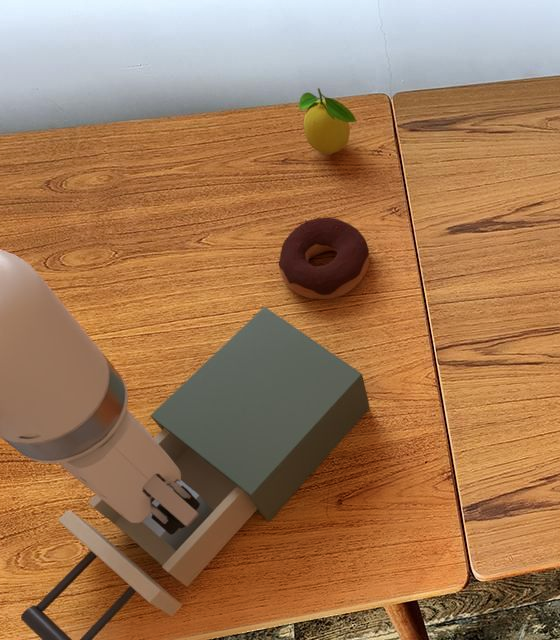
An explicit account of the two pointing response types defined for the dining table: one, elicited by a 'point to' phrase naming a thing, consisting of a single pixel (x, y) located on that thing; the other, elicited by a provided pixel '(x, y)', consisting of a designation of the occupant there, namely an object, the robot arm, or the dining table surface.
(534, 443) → the dining table surface
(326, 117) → the lemon
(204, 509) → the block
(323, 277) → the donut
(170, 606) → the drawer
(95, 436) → the robot arm
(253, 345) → the cabinet
